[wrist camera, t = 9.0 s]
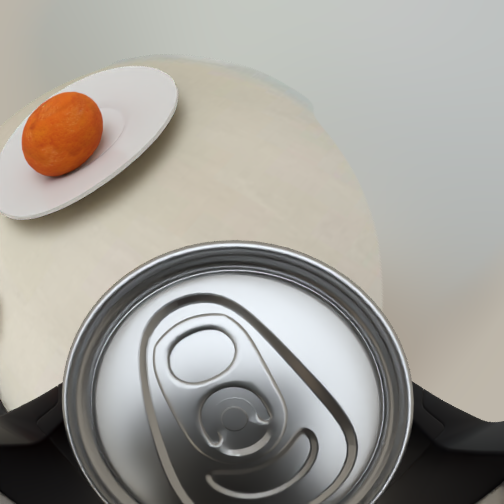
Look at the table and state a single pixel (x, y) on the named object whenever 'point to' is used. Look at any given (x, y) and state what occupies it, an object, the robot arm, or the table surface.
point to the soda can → (237, 383)
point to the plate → (83, 138)
